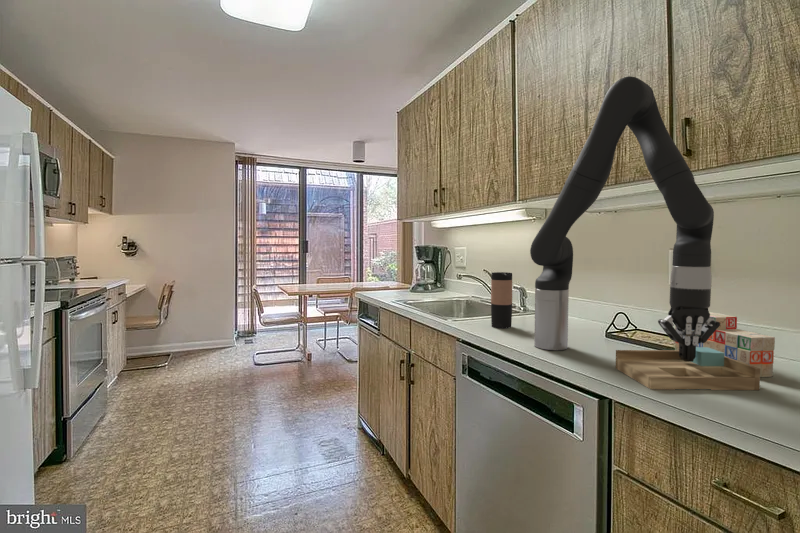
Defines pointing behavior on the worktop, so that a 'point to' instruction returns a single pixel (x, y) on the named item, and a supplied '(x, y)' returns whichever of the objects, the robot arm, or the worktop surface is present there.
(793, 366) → the worktop surface
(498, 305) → the travel mug
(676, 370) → the board
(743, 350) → the stack of blocks
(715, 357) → the block
